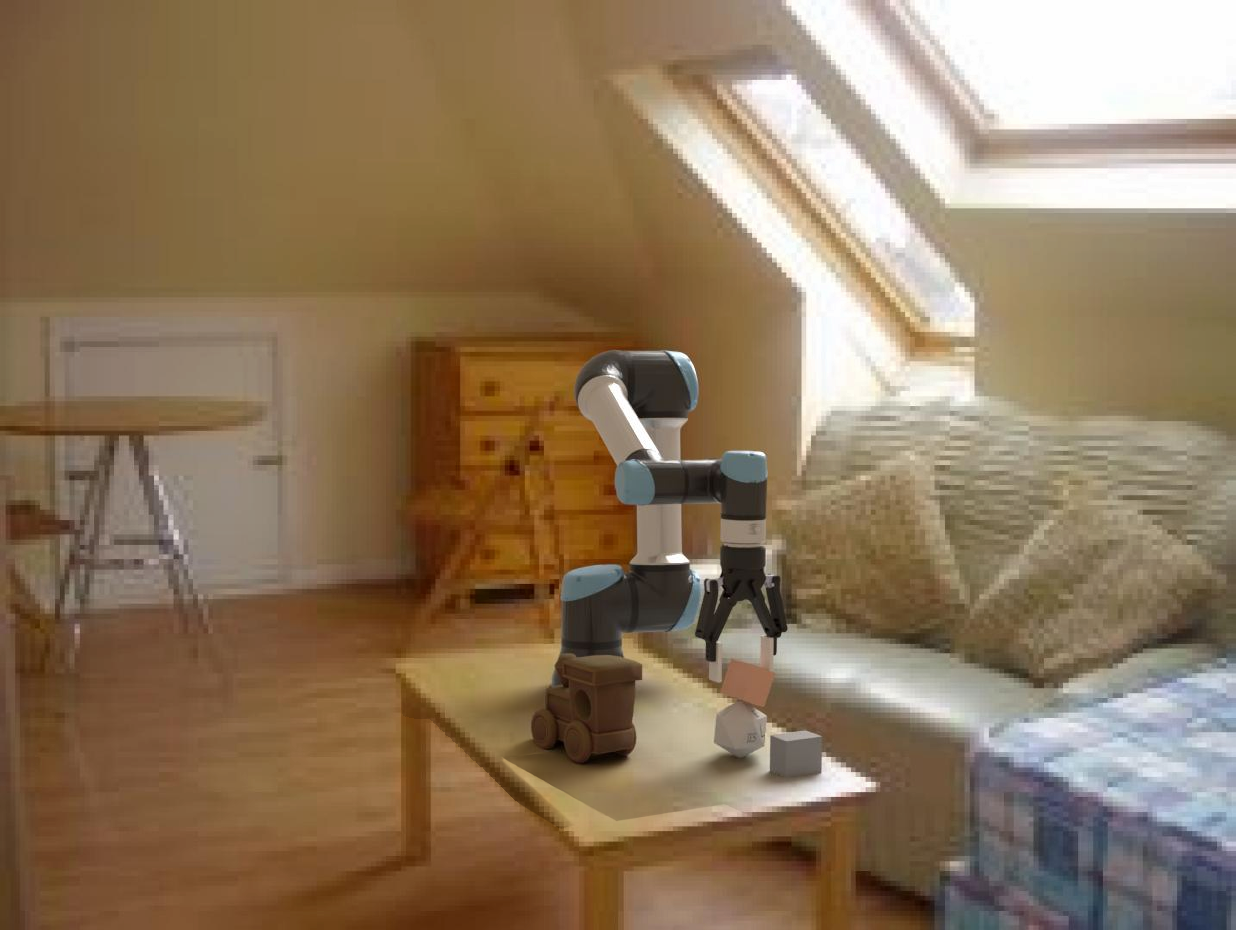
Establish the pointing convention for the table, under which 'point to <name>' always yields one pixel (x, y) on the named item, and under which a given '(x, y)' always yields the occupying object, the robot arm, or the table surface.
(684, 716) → the table surface
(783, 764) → the gray rectangular block
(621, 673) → the wooden toy train
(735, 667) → the salmon pink block
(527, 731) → the table surface
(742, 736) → the die
